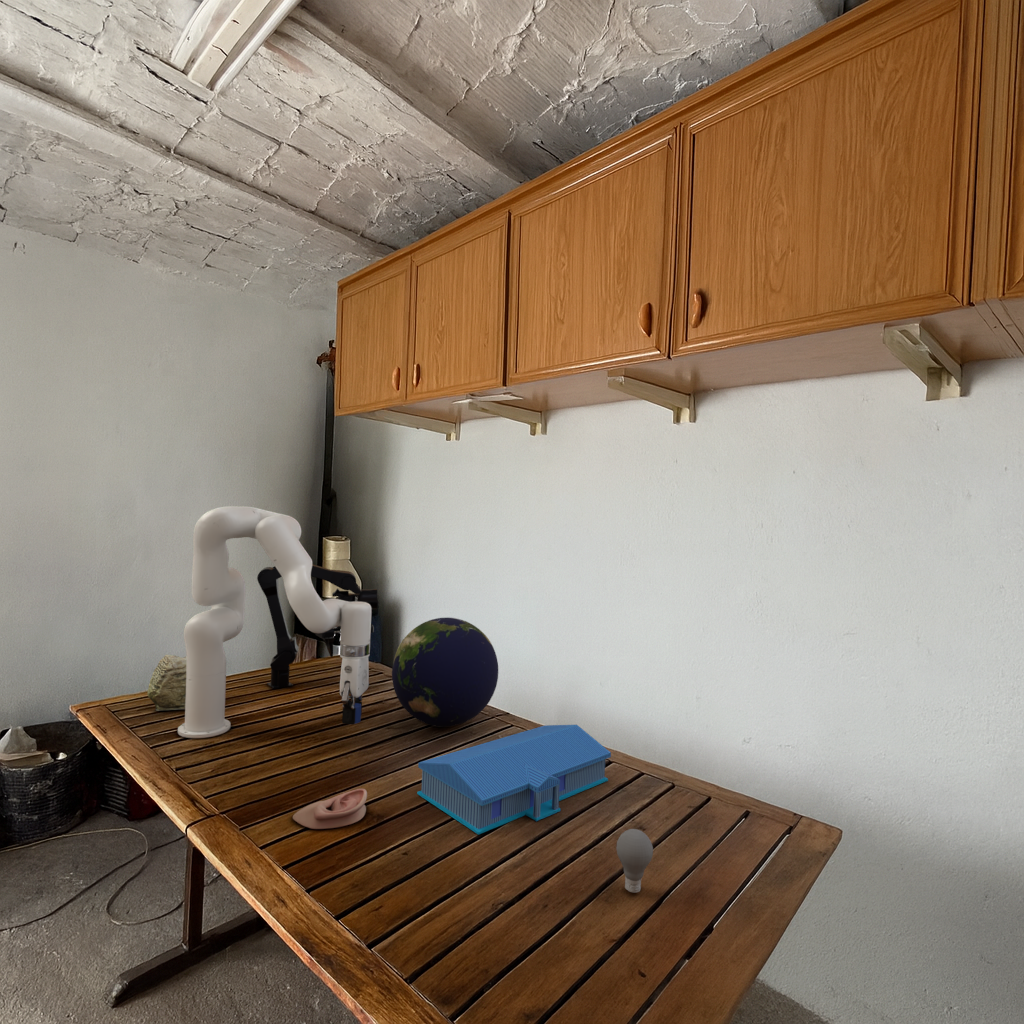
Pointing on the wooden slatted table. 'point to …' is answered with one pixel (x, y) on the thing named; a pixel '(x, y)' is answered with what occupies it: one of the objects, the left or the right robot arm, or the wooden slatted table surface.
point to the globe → (445, 672)
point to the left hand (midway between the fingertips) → (351, 719)
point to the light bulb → (634, 857)
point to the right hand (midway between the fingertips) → (344, 655)
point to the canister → (357, 713)
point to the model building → (514, 776)
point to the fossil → (169, 683)
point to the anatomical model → (334, 811)
